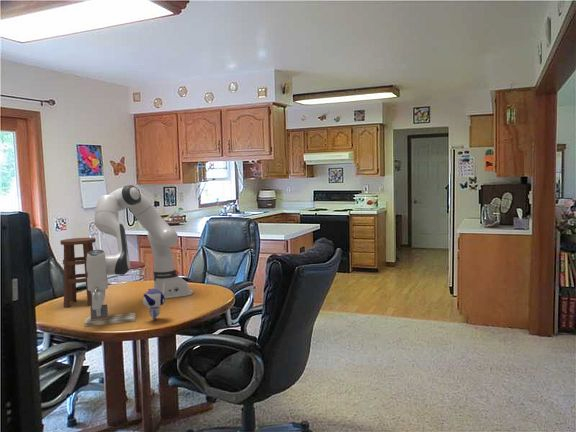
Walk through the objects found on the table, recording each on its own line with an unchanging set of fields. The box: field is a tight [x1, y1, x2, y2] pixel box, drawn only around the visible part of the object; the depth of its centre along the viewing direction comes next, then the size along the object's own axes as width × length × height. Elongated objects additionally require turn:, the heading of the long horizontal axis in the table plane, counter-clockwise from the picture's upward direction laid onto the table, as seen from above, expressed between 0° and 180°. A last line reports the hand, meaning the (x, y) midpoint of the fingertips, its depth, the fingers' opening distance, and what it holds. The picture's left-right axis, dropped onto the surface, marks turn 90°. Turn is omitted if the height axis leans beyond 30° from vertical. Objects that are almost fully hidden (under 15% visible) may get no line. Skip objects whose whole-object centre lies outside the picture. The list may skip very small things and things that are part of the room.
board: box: [83, 312, 137, 327], centre depth 225 cm, size 22×10×2 cm, turn 106°
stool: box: [59, 237, 96, 309], centre depth 259 cm, size 20×35×20 cm
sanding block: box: [89, 304, 109, 320], centre depth 223 cm, size 7×4×6 cm, turn 106°
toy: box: [142, 288, 166, 321], centre depth 223 cm, size 11×10×15 cm
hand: (99, 314), depth 223 cm, fingers closed on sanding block, 3 cm apart
